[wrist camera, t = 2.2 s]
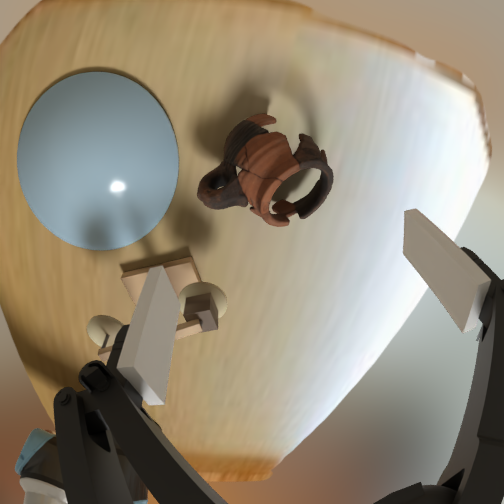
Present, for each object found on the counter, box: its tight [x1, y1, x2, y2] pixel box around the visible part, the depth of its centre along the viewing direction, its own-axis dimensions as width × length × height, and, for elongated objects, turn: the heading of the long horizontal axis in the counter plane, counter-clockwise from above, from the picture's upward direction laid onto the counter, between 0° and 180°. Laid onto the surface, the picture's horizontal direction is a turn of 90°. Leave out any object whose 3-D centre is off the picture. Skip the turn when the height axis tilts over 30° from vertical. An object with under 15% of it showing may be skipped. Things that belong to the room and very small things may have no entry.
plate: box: [17, 72, 179, 250], centre depth 27 cm, size 20×20×1 cm
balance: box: [87, 256, 227, 361], centre depth 31 cm, size 16×5×11 cm, turn 103°
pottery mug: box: [197, 114, 334, 227], centre depth 27 cm, size 12×10×8 cm
